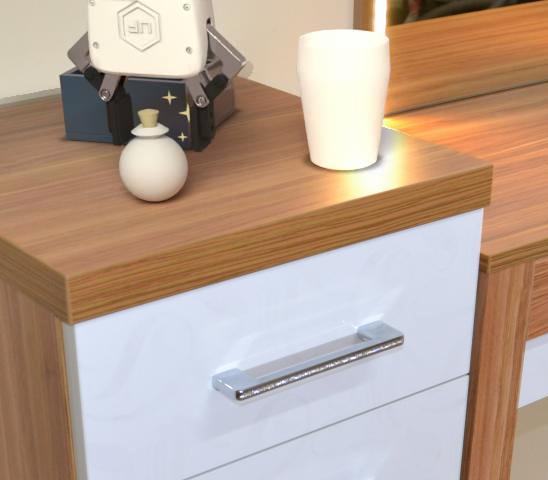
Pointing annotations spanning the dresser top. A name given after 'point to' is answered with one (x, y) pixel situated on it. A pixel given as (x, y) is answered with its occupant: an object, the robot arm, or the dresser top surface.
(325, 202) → the dresser top surface
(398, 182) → the dresser top surface
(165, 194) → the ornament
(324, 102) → the cup
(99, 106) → the dark blue open box
